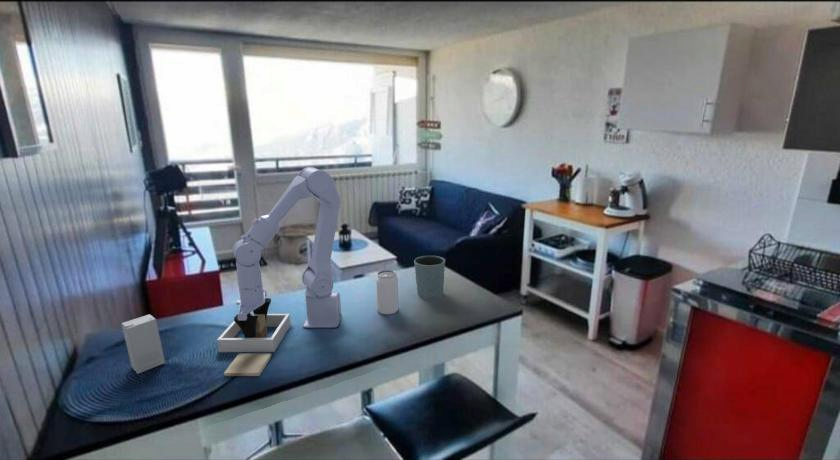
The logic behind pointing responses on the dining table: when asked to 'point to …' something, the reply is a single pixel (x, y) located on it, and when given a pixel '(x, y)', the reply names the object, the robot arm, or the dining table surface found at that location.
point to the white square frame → (254, 344)
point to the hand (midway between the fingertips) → (256, 332)
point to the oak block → (260, 326)
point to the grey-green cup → (429, 276)
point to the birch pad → (247, 365)
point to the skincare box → (143, 343)
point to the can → (387, 292)
